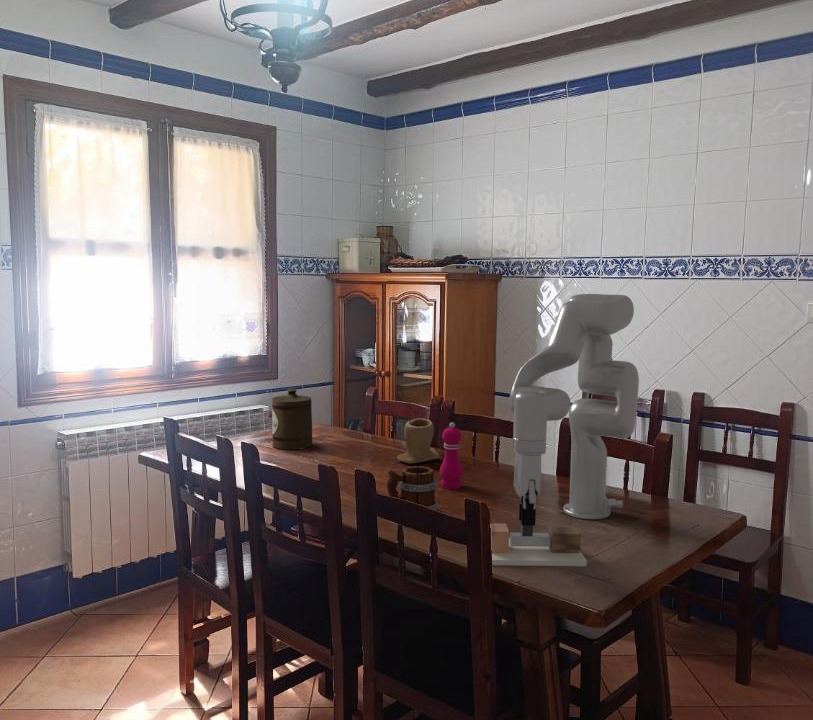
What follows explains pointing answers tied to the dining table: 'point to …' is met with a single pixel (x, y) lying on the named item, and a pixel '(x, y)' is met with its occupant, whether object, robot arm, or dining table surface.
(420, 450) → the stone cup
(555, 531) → the walnut sleeve
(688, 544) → the dining table surface
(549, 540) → the grey piece
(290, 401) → the wooden container
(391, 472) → the mug
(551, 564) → the cream board
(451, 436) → the pepper mill
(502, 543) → the terracotta socket
